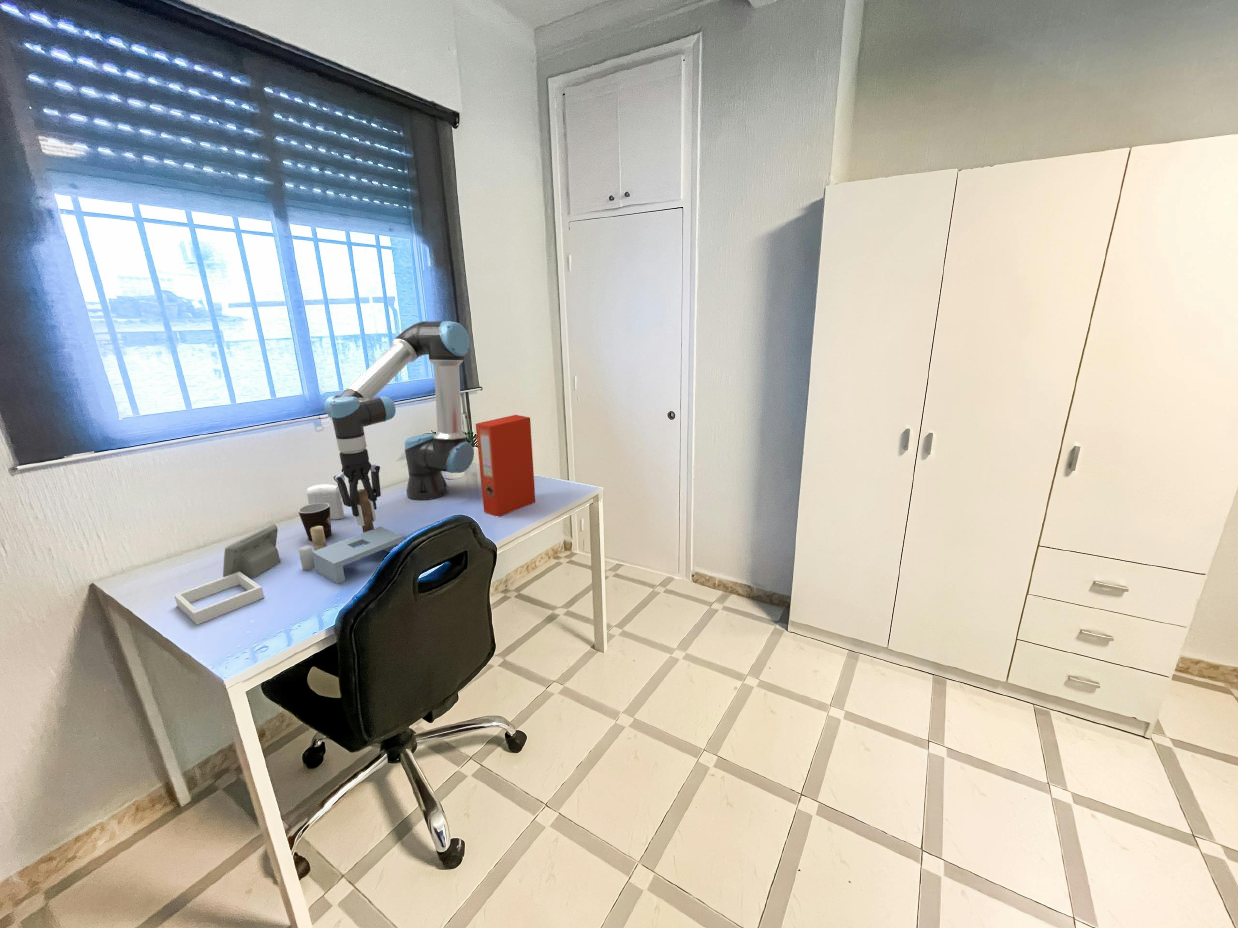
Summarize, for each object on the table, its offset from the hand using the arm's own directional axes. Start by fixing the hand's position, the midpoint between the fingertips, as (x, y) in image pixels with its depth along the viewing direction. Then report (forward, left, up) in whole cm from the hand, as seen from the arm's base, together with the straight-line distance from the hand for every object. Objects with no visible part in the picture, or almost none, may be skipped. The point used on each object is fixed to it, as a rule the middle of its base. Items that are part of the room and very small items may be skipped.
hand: (367, 522), depth 160 cm
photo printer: (-1, -29, -6) cm, 30 cm away
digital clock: (+28, -10, -6) cm, 31 cm away
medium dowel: (+14, -1, -6) cm, 15 cm away
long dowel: (0, 0, -5) cm, 5 cm away
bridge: (+9, +13, -6) cm, 17 cm away
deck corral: (+40, +3, -6) cm, 41 cm away
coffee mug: (+6, -16, -6) cm, 19 cm away
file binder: (-44, +17, -6) cm, 47 cm away
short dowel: (+19, +3, -6) cm, 20 cm away
